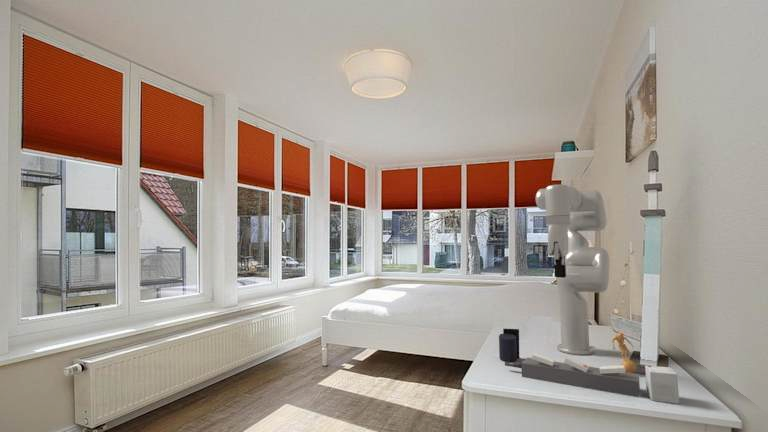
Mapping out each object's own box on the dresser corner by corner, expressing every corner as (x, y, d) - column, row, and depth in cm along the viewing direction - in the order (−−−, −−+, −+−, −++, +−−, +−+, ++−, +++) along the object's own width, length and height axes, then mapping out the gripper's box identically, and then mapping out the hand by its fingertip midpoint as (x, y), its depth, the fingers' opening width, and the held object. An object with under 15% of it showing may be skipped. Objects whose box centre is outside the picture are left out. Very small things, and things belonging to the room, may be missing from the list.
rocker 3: (601, 370, 112) (600, 366, 112) (625, 369, 109) (624, 365, 109) (600, 373, 109) (599, 369, 110) (625, 372, 106) (623, 368, 107)
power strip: (508, 367, 130) (508, 353, 130) (639, 388, 110) (638, 372, 110) (502, 373, 124) (501, 358, 124) (639, 397, 104) (638, 380, 104)
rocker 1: (534, 356, 122) (534, 352, 122) (554, 363, 119) (555, 359, 119) (531, 358, 120) (532, 354, 120) (552, 366, 116) (553, 362, 116)
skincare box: (679, 404, 99) (678, 374, 100) (651, 400, 101) (649, 371, 102) (673, 395, 105) (671, 367, 105) (645, 392, 107) (644, 364, 107)
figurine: (624, 376, 119) (622, 336, 120) (607, 370, 125) (605, 332, 126) (644, 373, 122) (642, 334, 123) (626, 368, 128) (624, 330, 129)
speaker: (503, 354, 143) (503, 326, 143) (519, 357, 140) (519, 328, 140) (496, 361, 137) (496, 332, 137) (513, 365, 134) (513, 335, 133)
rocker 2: (565, 359, 117) (567, 355, 117) (587, 369, 114) (589, 365, 114) (564, 362, 115) (565, 358, 115) (586, 372, 111) (587, 368, 111)
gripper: (551, 223, 141) (552, 275, 139) (541, 221, 128) (543, 278, 127) (574, 222, 137) (576, 276, 135) (566, 220, 124) (568, 279, 123)
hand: (560, 277), depth 131 cm, fingers closed
